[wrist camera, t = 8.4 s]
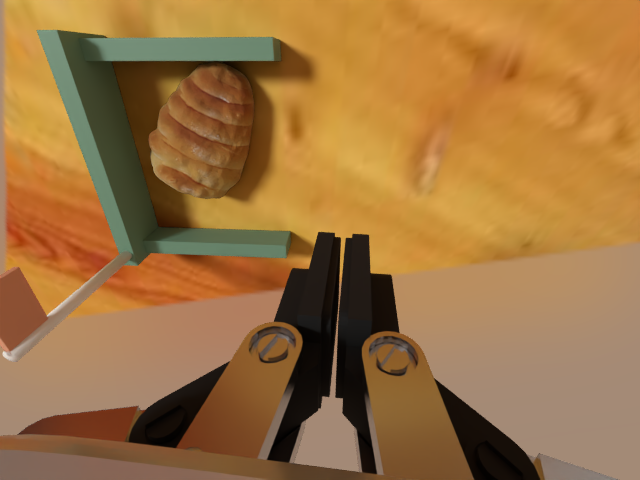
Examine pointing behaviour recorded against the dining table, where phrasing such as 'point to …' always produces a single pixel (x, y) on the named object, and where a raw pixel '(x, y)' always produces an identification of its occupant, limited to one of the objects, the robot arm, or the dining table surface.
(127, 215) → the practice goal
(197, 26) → the dining table surface
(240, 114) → the pastry
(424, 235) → the dining table surface
